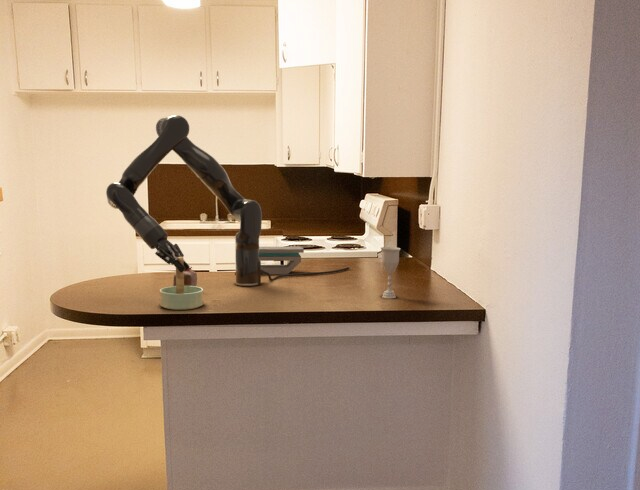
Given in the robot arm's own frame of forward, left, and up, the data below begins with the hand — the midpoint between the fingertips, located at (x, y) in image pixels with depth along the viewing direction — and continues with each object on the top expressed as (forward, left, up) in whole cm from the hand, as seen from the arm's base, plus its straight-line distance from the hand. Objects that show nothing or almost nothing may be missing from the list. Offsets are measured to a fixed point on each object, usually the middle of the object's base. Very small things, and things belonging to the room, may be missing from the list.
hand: (185, 269), depth 222 cm
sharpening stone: (-47, -51, -12) cm, 71 cm away
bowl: (+2, +1, -12) cm, 12 cm away
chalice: (-72, +9, -12) cm, 74 cm away
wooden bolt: (+2, -1, -11) cm, 11 cm away
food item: (-3, -20, -12) cm, 24 cm away
